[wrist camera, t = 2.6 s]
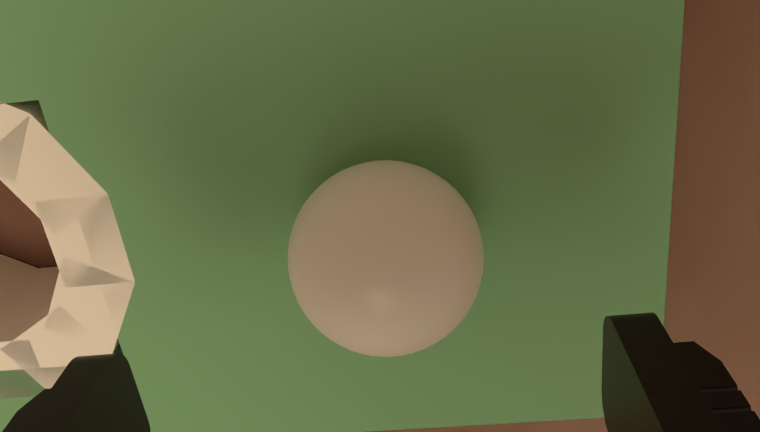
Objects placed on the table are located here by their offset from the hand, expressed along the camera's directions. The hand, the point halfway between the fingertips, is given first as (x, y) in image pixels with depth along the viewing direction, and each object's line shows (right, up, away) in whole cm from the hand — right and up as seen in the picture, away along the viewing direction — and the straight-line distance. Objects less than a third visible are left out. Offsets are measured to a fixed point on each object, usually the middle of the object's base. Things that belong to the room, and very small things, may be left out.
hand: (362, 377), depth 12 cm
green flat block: (-5, +4, +11) cm, 13 cm away
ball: (0, +2, +4) cm, 4 cm away
